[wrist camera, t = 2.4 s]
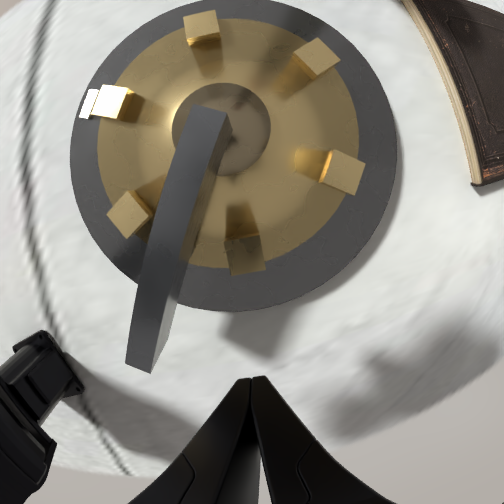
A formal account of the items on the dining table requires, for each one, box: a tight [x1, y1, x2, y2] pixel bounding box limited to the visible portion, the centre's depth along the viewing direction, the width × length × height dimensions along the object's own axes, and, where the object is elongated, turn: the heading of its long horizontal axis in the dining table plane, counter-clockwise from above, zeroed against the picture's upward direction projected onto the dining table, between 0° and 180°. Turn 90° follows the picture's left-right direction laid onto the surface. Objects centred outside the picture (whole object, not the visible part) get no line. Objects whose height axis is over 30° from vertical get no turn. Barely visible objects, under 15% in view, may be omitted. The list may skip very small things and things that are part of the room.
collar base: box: [70, 0, 397, 312], centre depth 14 cm, size 19×19×2 cm
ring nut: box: [92, 10, 365, 374], centre depth 11 cm, size 14×14×5 cm
